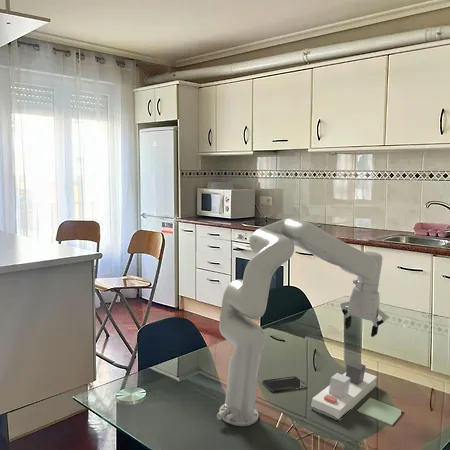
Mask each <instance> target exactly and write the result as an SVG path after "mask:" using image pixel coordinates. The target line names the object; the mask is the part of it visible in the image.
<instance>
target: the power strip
mask: <svg viewBox="0 0 450 450" xmlns="http://www.w3.org/2000/svg"><path fill="white" fill-rule="evenodd" d="M342 375H344V376H346V372H344V373H343V374H342ZM377 378H378V376H377V375H373V374H371V373H368V372H366V371H365V373H364V379H363V381H362V382H361V383H360V384H359V385H356V384H354V383H351V382H350V385H349V391H348V394H347V395H346V396H345V397H344V398H343V399H341V398H338V397H336V396H333V395H331V394H329V388H330V384H329V385H328V386H326V387H325V388H324V389H322V390H320V392H318V393H317V394H316V395H314V396H313V397H312V398H311V405H310V407H311V406H312V407H315V408H317V409H319V410H322V411H325V412H327V413H329V414H331V415H333V416H335V417H336V418H338V419H339V418H340V417H341V416H342V415H343V414H344V413H345V412H346V411H348V410H350V409H351V410H352V409H353V408H355V406H356V405H358V403H360V402H361V401H362V399H364V398H365V397H366V396H367V395H368V394H369V393H370V392H371V391H373V390H374V388H375V387H376V384H377ZM351 410H350V411H351Z"/></svg>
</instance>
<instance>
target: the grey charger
mask: <svg viewBox="0 0 450 450" xmlns="http://www.w3.org/2000/svg"><path fill="white" fill-rule="evenodd" d="M329 385H330V388H329V394H331V395H333V396H336V397H338V398H341V399H343V398H344V397H345V396H346V395H347V394H348V391H349V385H350V377H347V376H344V375H343V374H341V373H339V372H336V373H335V374H334V375H332V376H331V377H330V382H329Z"/></svg>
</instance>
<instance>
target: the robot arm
mask: <svg viewBox="0 0 450 450" xmlns="http://www.w3.org/2000/svg"><path fill="white" fill-rule="evenodd" d="M249 247H250V249H251V251H252V252H253V253H255V255H253V257H252V258H251V259H250V260H249V261H248V262H247V264H246V266H245V268H244V272H243V276H242V279H234V280H233V281H231V282H230V283H229V284H228V285H227V286H226V288H225V289H224V292H223V296H222V302H221V308H220V315H219V322H218V323H219V327H218V330H219V332H220V334H221V336H222V337H223V338H224V339H226V340H227V342H229V343H231V345H232V346H233V347H234V351H233V353H232V355H230V358H229V363H228V373H227V382H226V390H225V400H224V404H222V405H221V406H220V407H219V409H218V410H219V411H218V413H217V414H216V419H217V420H220V421H221V420H223V421H224V422H225V423H227V424H229V425H232V426H237V427H238V426H239V427H247V426H251V425H253V424H255V423H256V422H257V421H258V419H259V412H258V410H257V409H256V405H255V404H256V399H257V391H258V388H257V387H258V381H259V375H260V374H259V372H260V363H261V359H262V354H263V351H264V349H265V345H266V341H267V338H266V337H267V336H266V332H265V331H264V329H263V328H262V327H261V326H260V325H259V324H258V323H256V322H255V321H254V320H257V319H261V318H262V317H263V316H264V314H265V312H266V309H267V305H268V301H269V300H268V298H269V294H270V287H271V281H272V277H273V275H274V273H275V272H276V271H277V270H278V269H279V268H280V267H281V266H282V265H283V264H285V263H286V262H288V261H289V260H290V259H291V258H292V256H293V255H294V253H295V247H298V248H299V249H302V250H304V251H305V252H307V253H309V254H310V255H313V256H315V257H316V258H318V259H320V260H322V261H325V262H326V263H328V264H331V265H334V266H337V267H339V268H340V269H341V270H342V271H344V272H346V273H348V274H351V275H354V276H356V277H357V279H353V281H352V284H353V285H355V286H353V289H352V290H351V294H350V298H349V301H345V302H342V303H340V308H341V312H342V313H343V315H344V318H345V320H344V325H345V329H347V330H348V329H349V328H351V325H352V316H353V317H356V318H359V319H362V320H365V321H370V322H372V324H373V325H372V327H371V334H370V337H371V338H374V337H375V336H377V335H378V330H379V326H380V325H382V324H384V323H385V321H387V319H388V318H389V316H388V315H387V314H386V313H385V312H383V310H381V308H380V292H379V285H380V279H381V272H382V271H381V270H382V265H383V255H382V254H381V253H378V252H375V251H367V250H366V251H361V250H360V249H358V248H356V247H354V246H352V245H350V244H349V243H347V242H345V241H343V240H341V239H339V238H338V237H336V236H334V235H332V234H330V233H329V232H326V231H325V230H323V229H322V228H320V227H318V226H316V225H315V224H313V223H311V222H308V221H305V220H302V219H300V218H299V219H298V218H296V217H295V218H294V217H288V218H283V219H281V220H278V221H276V222H273V223H270V224H267V225H265V226H263V227H260V228H258V229H256V230H255V231H254V232H253V233H252V234H251V236H250V239H249ZM379 316H380V317H381V319H380V320H379V319H378V317H379Z"/></svg>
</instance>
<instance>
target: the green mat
mask: <svg viewBox="0 0 450 450" xmlns="http://www.w3.org/2000/svg"><path fill="white" fill-rule="evenodd" d="M401 410H402V409H400V408H397V407H395V406H391V405H389V404H387V403H385V402H382V401H380V400H377V399H374V398H372V397H369V398H368V399H367V400H366V401H365V402H364V403H363V404H362V405H361V406H360V407H359V408H358V409H357V410H356V412H357V411H358V413H360V414H362V415H365V416H367V417H370V418H371V419H374V420H377V421H379V422H381V423H384V424H387V425H389V426H393V425H394V424H395V423H396V422H397V420H399V418H400V417H401V416H402V414H401Z"/></svg>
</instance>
